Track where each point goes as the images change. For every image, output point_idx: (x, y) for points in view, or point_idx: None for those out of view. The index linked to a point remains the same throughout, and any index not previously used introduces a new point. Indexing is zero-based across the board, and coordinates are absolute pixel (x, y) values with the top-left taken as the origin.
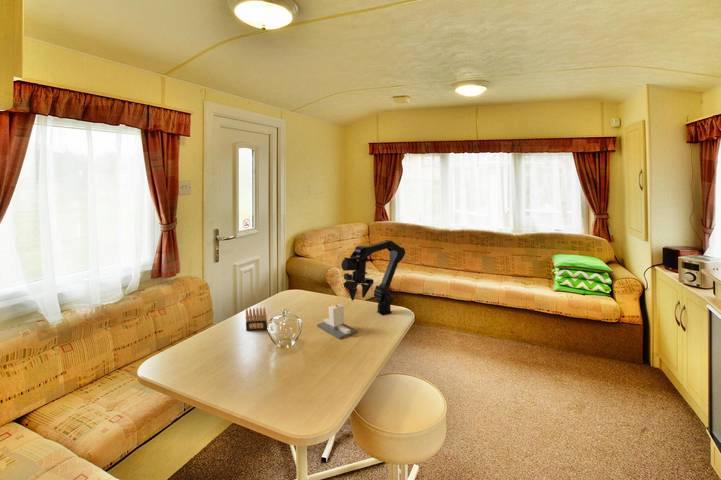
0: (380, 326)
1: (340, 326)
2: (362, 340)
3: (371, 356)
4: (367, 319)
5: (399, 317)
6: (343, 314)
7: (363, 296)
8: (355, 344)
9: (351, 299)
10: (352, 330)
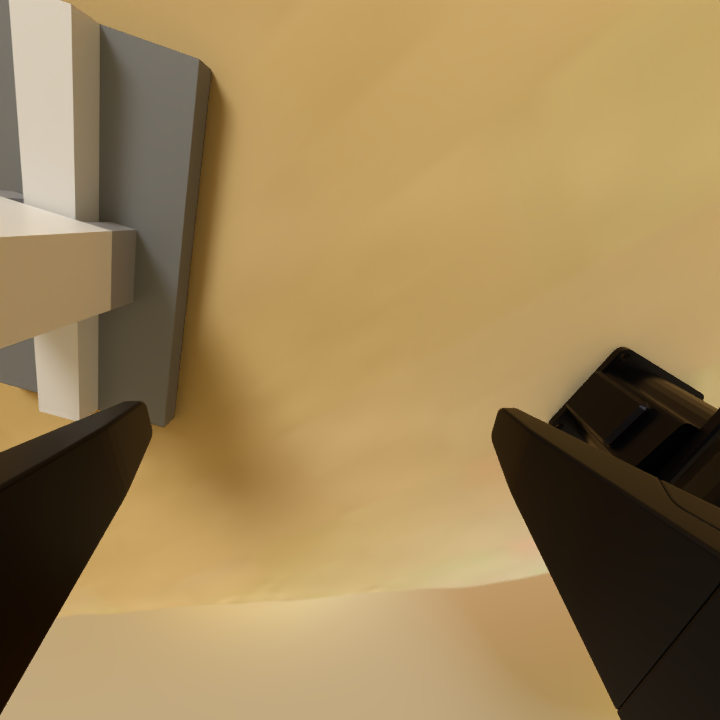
0: (347, 492)
1: None
2: None
3: None
4: (414, 360)
5: None
6: (22, 340)
7: (502, 444)
8: None
9: (117, 407)
10: (134, 400)
